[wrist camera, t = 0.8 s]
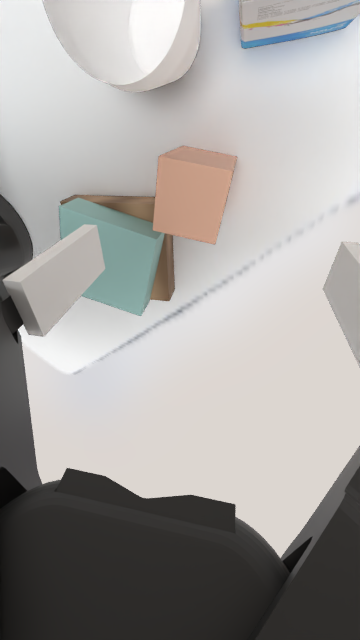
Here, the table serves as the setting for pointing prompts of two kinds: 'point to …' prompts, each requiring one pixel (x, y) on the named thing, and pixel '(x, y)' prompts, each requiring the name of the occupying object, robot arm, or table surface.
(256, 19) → the ink box
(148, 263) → the block top
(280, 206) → the table surface
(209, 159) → the tall block
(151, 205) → the block bottom
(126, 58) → the cup
